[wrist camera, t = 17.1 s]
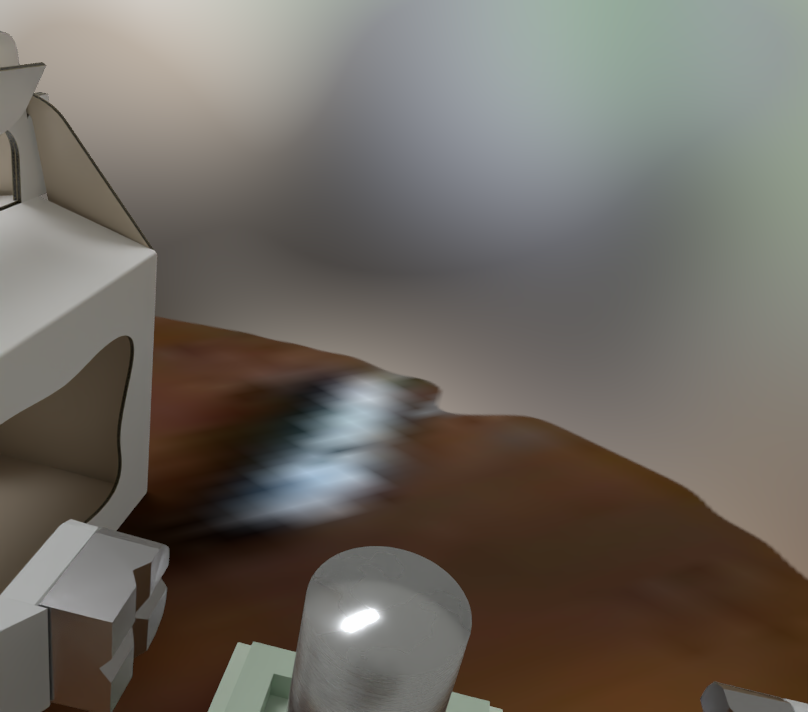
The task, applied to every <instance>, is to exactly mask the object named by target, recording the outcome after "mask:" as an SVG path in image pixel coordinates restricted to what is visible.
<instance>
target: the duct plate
mask: <svg viewBox="0 0 808 712" xmlns="http://www.w3.org/2000/svg"><path fill="white" fill-rule="evenodd" d="M295 656H296V652H293V651H289V650H285V649H281V648H277V647H273V646H269V645H265V644H261V643H257V642H253V643H252V646H251V645H247V644H243V643H239V642H238V643H237V646H236V648H235V650H234V652H233V655H232V657H231V659H230V662H229V664H228V666H227V668H226V671H225V673H224V675H223V678H222V680H221V682H220V685H219V687H218V689H217V691H216V694H215V696H214V698H213V701H212V703H211V705H210V707H209V710H208V712H286V708H287V703H288V697H289V691H290V685H291V679H292V674H293V668H294V662H295ZM502 711H503V710H502V709H499V708H495V707H491V706H490V702H489V701H485V700H482V699H478V698H474V697H470V696H466V695H462V694H458V693H454V692H452V693H451V696H450V699H449V703H448V706H447V709H446V712H502Z"/></svg>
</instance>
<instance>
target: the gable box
mask: <svg viewBox="0 0 808 712" xmlns="http://www.w3.org/2000/svg"><path fill="white" fill-rule="evenodd" d="M45 67H46V65H45V64H44V63H42V62H41V63H33V64H25V65H19V58H18V52H17V47H16V44H15V42H14V40H13V38H12V37H11V36H10V35H9V34H7V33H5V32H1V31H0V594H1V593H2V592H3V591H4V590H5V589H6V587H7V586H8V585H9V584H10V583H11V582H12V580H13V579H14V578H15V577H16V576H17V575H18V573H19V572H20V571H21V570H22V569H23V568H24V567H25V565H26V564H27V563H28V562H29V561H30V560H31V558H32V557H33V556H34V555H35V554H36V553H37V551H38V550H39V549H40V548H41V547H42V546H43V544H44V543H45V542H46V541H47V540H48V539H49V537H50V536H51V535H52V534H53V533H54V532H55V530H56V529H57V528H58V527H59V526H60V525H61V524H63V523H64V522H66V521H68V520H70V519H72V520H76V521H79V522H83V523H86V524H90V525H93V526H97V527H101V528H107V529H111V530H114V531H117V529H118V528H119V527H120V526H121V524H122V523H123V522H124V521H125V519H126V518H127V517H128V516H129V514H130V513H131V512H132V510H133V509H134V508H135V507H136V505H137V504H138V503H139V502H140V500H141V499H142V498H143V497H144V495H145V494H146V493H147V479H148V456H149V432H150V409H151V386H152V362H153V339H154V316H155V292H156V269H157V254H156V252H155V251H154V249H153V248H152V246H151V245H150V243H149V242H148V241H147V239H146V238H145V236H144V235H143V233H142V232H141V230H140V229H139V227H138V226H137V224H136V223H135V221H134V220H133V218H132V217H131V215H130V214H129V213H128V211H127V210H126V208H125V207H124V205H123V204H122V202H121V201H120V199H119V198H118V196H117V195H116V193H115V192H114V190H113V189H112V187H111V186H110V184H109V183H108V181H107V180H106V178H105V177H104V175H103V174H102V172H101V171H100V170H99V168H98V167H97V165H96V164H95V162H94V161H93V159H92V158H91V156H90V155H89V154H88V152H87V150H86V149H85V147H84V146H83V144H82V143H81V141H80V140H79V138H78V137H77V135H76V134H75V133H74V131H73V130H72V128H71V127H70V125H69V124H68V122H67V121H66V119H65V118H64V117H63V115H62V114H61V113H60V112H59V111H58V110H57V109H56V108H55V107H54V106H53V105H52V104H50V103H49V96H48V94H46V93H42V92H38V93H34V91H35V89H36V87H37V84H38V82H39V80H40V78H41V76H42V74H43V71H44V69H45ZM45 193H47V196H48V200H46V199H44V198H42V197H40V195H43V194H45Z"/></svg>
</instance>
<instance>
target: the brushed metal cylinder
mask: <svg viewBox="0 0 808 712" xmlns="http://www.w3.org/2000/svg"><path fill="white" fill-rule="evenodd" d="M471 626H472V615H471V610H470V606H469V603H468V600H467V598H466V596H465V594H464V592H463V591H462V589H461V588H460V586H459V585H458V584H457V582H456V581H455V580H454V579H453V578H452V577H451V576H450V575H449V574H448V573H447V572H446V571H444V570H443V569H442V568H440V567H439V566H438V565H436V564H435V563H433V562H431V561H430V560H428V559H426V558H424V557H422V556H419V555H417V554H414V553H412V552H409V551H405V550H402V549H397V548H391V547H382V546H370V547H360V548H355V549H351V550H347V551H344V552H342V553H339V554H337V555H335V556H333V557H332V558H330V559H329V560H327V561H326V562H325V563H323V564H322V565H321V566H320V567H319V568H318V569H317V570H316V572H315V573H314V575H313V576H312V578H311V580H310V582H309V585H308V589H307V593H306V598H305V604H304V610H303V616H302V622H301V627H300V633H299V639H298V645H297V651H296V656H295V662H294V668H293V674H292V679H291V685H290V691H289V697H288V703H287V708H286V712H446V709H447V706H448V703H449V699H450V696H451V693H452V690H453V687H454V683H455V680H456V677H457V674H458V671H459V667H460V664H461V661H462V658H463V655H464V652H465V648H466V645H467V642H468V639H469V636H470V632H471Z"/></svg>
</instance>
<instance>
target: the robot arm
mask: <svg viewBox="0 0 808 712" xmlns="http://www.w3.org/2000/svg"><path fill="white" fill-rule="evenodd" d="M168 565H169V547H167V546H166V545H165V544H161V543H157V542H154V541H150V540H147V539H143V538H139V537H136V536H132V535H129V534H125V533H121V532H118V531H114V530H111V529H107V528H101V527H97V526H93V525H90V524H86V523H83V522H79V521H76V520H72V519H70V520H68V521H66V522H64V523H63V524H61V525H60V526H59V527H58V528H57V529H56V530H55V532H54V533H53V534H52V535H51V536H50V537H49V539H48V540H47V541H46V542H45V543H44V544H43V546H42V547H41V548H40V549H39V550H38V551H37V553H36V554H35V555H34V556H33V557H32V558H31V560H30V561H29V562H28V563H27V564H26V565H25V567H24V568H23V569H22V570H21V571H20V572H19V573H18V575H17V576H16V577H15V578H14V579H13V580H12V582H11V583H10V584H9V585H8V586H7V587H6V589H5V590H4V591H3V592H2V593H1V594H0V712H42V711H43V710H45V709H46V708H48V707H49V706H50V702H52V703H57V704H61V705H66V706H70V707H74V708H79V709H83V710H88V711H92V712H112V711H113V709H114V708H115V706H116V704H117V702H118V701H119V699H120V697H121V695H122V693H123V692H124V690H125V688H126V686H127V685H128V683H129V681H130V679H131V678H132V673H133V658H135V657H136V656H138V655H140V654H142V653H144V652H145V651H147V649H148V647H149V645H150V643H151V641H152V640H153V638H154V636H155V634H156V631H157V629H158V626H159V623H160V621H161V618H162V615H163V611H164V607H165V602H166V594H167V586H166V585H165V583H164V582H163V580H162V579H161V577H162V575H163V574H164V572H165V570H166V569H167V567H168ZM700 700H701V704H702V708H703V711H704V712H808V704H805V703H801V702H797V701H793V700H789V699H781V698H780V697H776V696H772V695H768V694H764V693H759V692H755V691H751V690H747V689H743V688H739V687H734V686H730V685H726V684H722V683H718V682H714V683H712V684H711V685H709V686H708V687H707V688H706V690H705V691H704V693H703V695H702V696H701V698H700Z"/></svg>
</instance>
